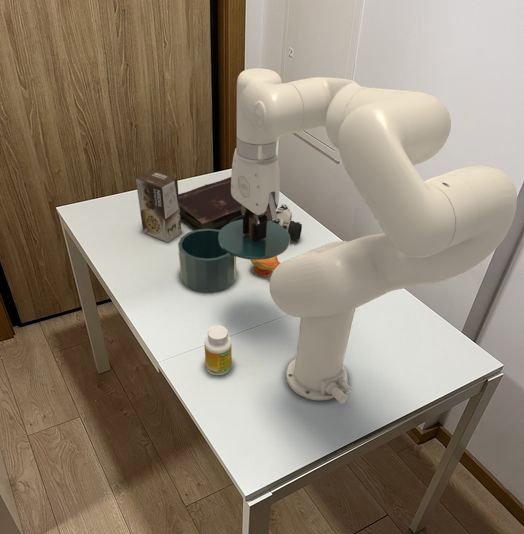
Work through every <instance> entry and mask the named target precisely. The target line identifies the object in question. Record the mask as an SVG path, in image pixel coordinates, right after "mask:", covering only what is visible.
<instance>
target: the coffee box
mask: <svg viewBox="0 0 524 534" xmlns="http://www.w3.org/2000/svg"><path fill="white" fill-rule="evenodd" d="M135 184H136V190H137V198H138V205H139V212H140V217H141V218H140V219H141V227H142V232H143V234H146V235H149V236H152V237H153V238H156V239H158V240H161V241H163V242H166V243H169V242H171V241H172V240H174V239H175V238H176V237H178V236H180V235H181V234H182V223H181V222H182V221H181V220H180V207H179V194H180V193H179V184H178V177H176V176H172V175H169V174H167V173H163V172H161V171H157V170H154V169H149V170H147V171H146V172H144V173H142V174H141V175H139V176H137V177H135Z"/></svg>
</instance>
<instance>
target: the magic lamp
mask: <svg viewBox="0 0 524 534" xmlns="http://www.w3.org/2000/svg"><path fill="white" fill-rule="evenodd" d="M249 260H250V262H251V264H252V265H253V269H252V271H253V272H252V273H254V274H255V275H257V276H259V277H268V276H271V275H272V273H273V271H274V269H275V268H276V267H277V266H278V265H279V264H280V263H281V262H280V260H279V259H278V256H275V257H272V258H268V259H261V260H251V259H249Z"/></svg>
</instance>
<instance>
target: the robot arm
mask: <svg viewBox="0 0 524 534" xmlns="http://www.w3.org/2000/svg"><path fill="white" fill-rule="evenodd" d="M323 127H325V130H326V135H327V137H328V139H329V141H330V143H331V144H332V146H334V147H335V148H336V149H338V152H339V157H340V160H341V162H342V165H343V167H344V169H345V171H346V174H347V175H348V176H349V178H350V180H351V182H352V183H353V185H354V186H355V188H356V190H357V191H358V194H359V195H360V196H361V197H362V199H363V201H364V202H365V204H366V205H367V207H368V209H369V211H370V213H371V214H372V216H373V217H374V219H375V220H376V222H377V224H378V225H379V227H380V228H381V230H382V231H383V232H382V233H381V232H380V233H376V234H370V235H364V236H361V237H357V238H355V239H351V240H349V241H347V240H338V241H333V242H330V243H327V244H324V245H321V246H319V247H316V248H313V249H311V250H309V251H307V252H304V253H302V254H299V255H297V256H295V257H294V256H293V257H292V258H289V259H287V260H284V261H282V262H280V264H279V265H278V266H277V267H276V268H275V269H274V270H273V272H272V273H271V274H270V279H269V292H270V297H271V299H272V300H273V302H274V304H275V305H276V306H277V308H278V309H280V311H282V312H283V313H285V314H286V315H289V316H290V317H295V318H300V319H299V321H300V322H299V329H298V335H297V336H298V338H297V345H296V353H295V357H294V358H293V359H292V360H291V361H290V362H289V364H288V365H287V367H286V373H285V379H286V382H287V384H288V386H289V387H290V389H291V391H293V392H295V393H296V394H297V395H298V396H300V397H302V398H305V399H308V400H312V401H328V400H332V399H335V400H337V402H338V403H340V404H341V405H343V404H344V403H345V402H346V401H347V400H348V399H349V396H348V395H347V394H349V393H351V392H352V390H353V387H352V386H350V385H349V383H348V380H349V379H348V378H349V377H348V372H347V370H346V368H345V367H344V363H345V357H346V353H347V347H348V343H349V339H350V333H351V329H352V324H353V320H354V316H355V313H356V309H357V308H359V307H362V306H364V305H365V304H368V303H369V302H372V301H373V300H376V299H378V298H380V297H382V296H384V295H386V294H387V293H390V292H393V291H397V290H403V289H408V288H409V289H410V288H416V287H420V286H427V285H433V284H437V283H440V282H445V281H447V280H449V279H452V278H455V277H457V276H459V275H462V274H464V273H466V272H467V271H469V270H471V269H473V268H474V267H476V266H477V265H479V264H481V263H482V262H483V261H485V260H486V259H487V258H488V257H489V256H490V255H491V254H493V253H494V252H495V251H496V250H497V248H498V247H499V246H500V245H501V243H503V241H504V240H505V238H506V236H507V235H508V233H509V231H510V229H511V227H512V224H513V222H514V220H515V216H516V212H517V207H518V191H517V187H516V184H515V183H514V181H513V179H512V178H511V177H510V175H508V174H507V173H506V172H504V171H503V170H501V169H499V168H496V167H493V166H488V165H475V166H474V165H473V166H466V167H461V168H458V169H454V170H451V171H449V172H445V173H442V174H439V175H437V176H433V177H431V178H428V179H426V180H424V179H423V178H422V177H421V175H420V174H419V172H418V171H417V169H416V167H415V166H417V165H420V164H422V163H424V162H427V161H428V160H430V159H432V158H433V157H434V156H436V155H437V154H438V153H439V152H440V151H441V150H442V149H443V148H444V146H445V144H446V142H447V140H448V139H449V136H450V132H451V127H452V120H451V115H450V112H449V109H448V108H447V106H446V105H445V104H444V103H443V101H441V100H440V99H439V98H437V97H436V96H435V95H431V94H429V93H426V92H420V91H411V90H402V89H391V88H380V87H371V86H362V85H359V84H358V83H357V82H356V81H355V80H353V79H349V78H341V77H328V76H316V77H315V76H313V77H308V78H303V79H299V80H293V81H289V82H282V77H281V76H280V75H279V74H278V72H276V71H275V70H272V69H268V68H262V67H259V68H258V67H254V68H253V67H252V68H247V69H244V70H243V71H241V72H240V73H239V75H238V76H237V80H236V136H235V137H236V139H235V140H236V141H235V142H236V143H235V145H236V147H235V149H234V153H233V156H232V163H231V174H230V175H231V176H230V177H231V195H232V197H233V198H234V199H235V200H237V201H238V202H239V203H240V205H241V213H242V215H244V216H243V234H248V232H249V216H250V215H252V214H254V222H255V223H252V241H254V242H256V241H258V240H261V239H264V238H266V230H267V222H268V221H273V220H276V219H277V213H276V211H277V209H278V208H279V202H280V166H279V165H280V164H279V159H278V155H279V143H280V141H279V140H280V139H279V138H281V137H286V136H288V135H293V134H296V133H297V134H298V133H300V132H304V131H309V130H311V129H316V128H323ZM263 213H264V214H263ZM261 214H262V215H261Z"/></svg>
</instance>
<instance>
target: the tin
mask: <svg viewBox="0 0 524 534" xmlns="http://www.w3.org/2000/svg"><path fill="white" fill-rule="evenodd" d="M219 232H220V230H216V229H198V230H192V231H189V232H187V233H185V234H184V235H182V236H181V237H180V239H179V241H178V243H177V246H178V259H179V272H180V279H181V282H182V284H183V285H184V286H185V287H186V288H188V289H189V290H191V291H194V292H197V293H202V294H213V293H219V292H222V291H225V290H226V289H228V288H230V287H231V286H232V285H233V284H234V282H235V281H236V276H237V257H236V256H233V255H231V254H229V253H227V252H226V251H225V250H224V249H223V248H222V247H221V246H220V244H219V242H218V235H219Z"/></svg>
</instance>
